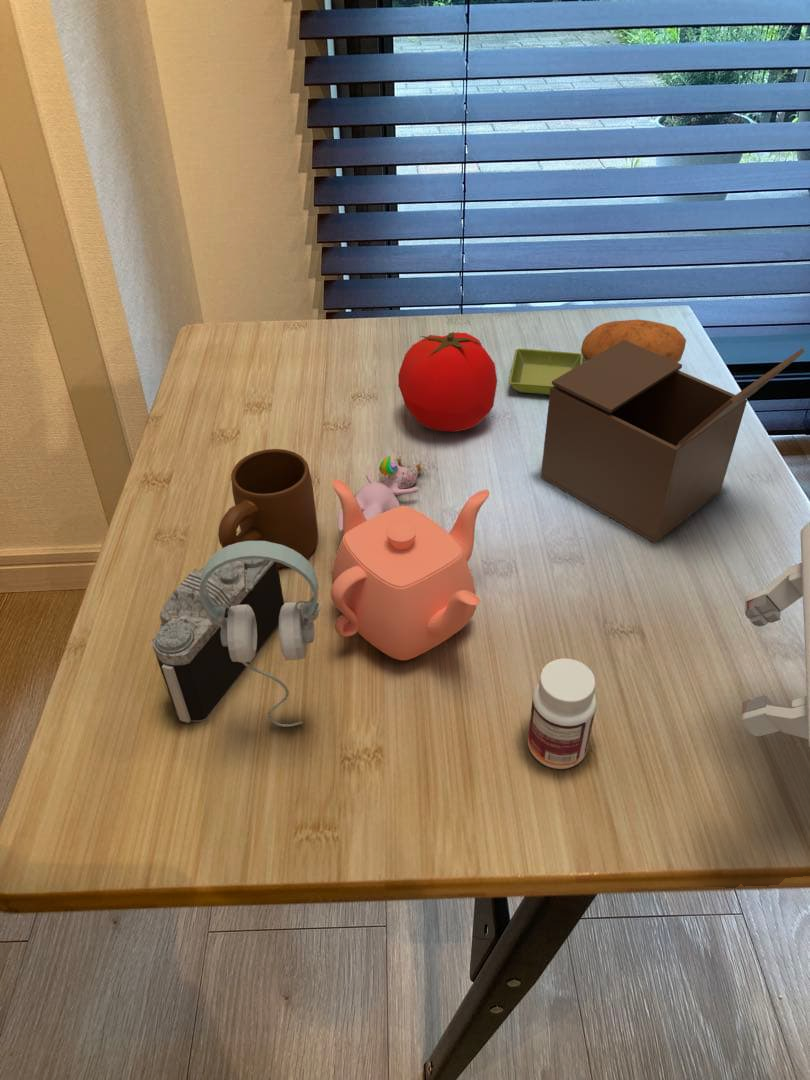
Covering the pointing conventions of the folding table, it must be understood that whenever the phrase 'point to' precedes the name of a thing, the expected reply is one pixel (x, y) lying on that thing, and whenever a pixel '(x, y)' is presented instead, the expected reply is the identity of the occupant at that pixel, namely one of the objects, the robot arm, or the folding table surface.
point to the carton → (637, 438)
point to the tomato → (448, 381)
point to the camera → (212, 633)
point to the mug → (272, 502)
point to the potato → (635, 338)
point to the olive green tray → (540, 369)
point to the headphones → (241, 618)
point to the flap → (741, 396)
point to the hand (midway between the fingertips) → (748, 663)
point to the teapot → (403, 576)
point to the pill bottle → (562, 713)
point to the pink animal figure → (384, 489)
